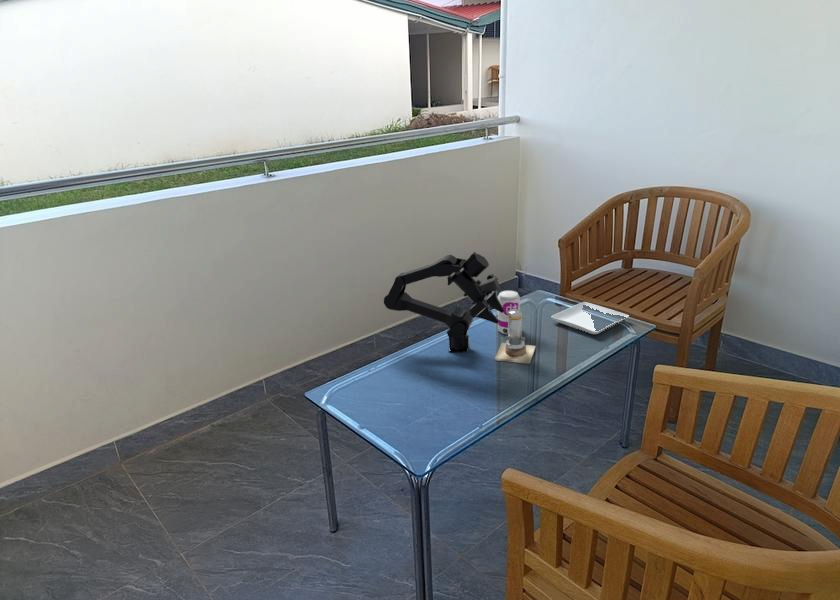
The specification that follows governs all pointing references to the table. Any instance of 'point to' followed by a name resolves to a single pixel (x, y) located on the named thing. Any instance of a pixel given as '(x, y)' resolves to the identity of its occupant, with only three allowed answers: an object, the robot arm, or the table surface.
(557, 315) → the salad plate
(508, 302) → the supplement can
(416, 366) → the table surface
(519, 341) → the grey tall flared piece
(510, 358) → the beige square tile
